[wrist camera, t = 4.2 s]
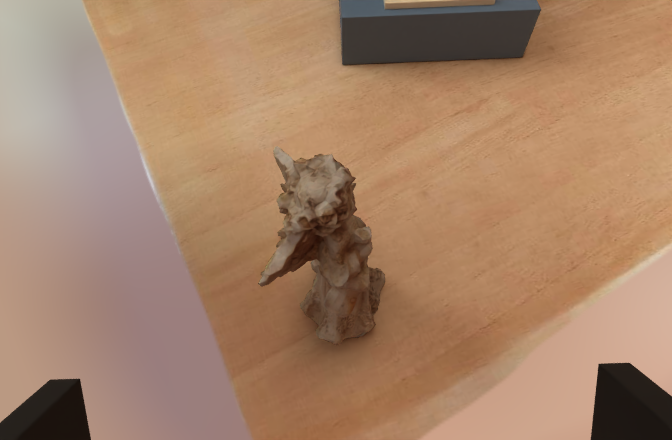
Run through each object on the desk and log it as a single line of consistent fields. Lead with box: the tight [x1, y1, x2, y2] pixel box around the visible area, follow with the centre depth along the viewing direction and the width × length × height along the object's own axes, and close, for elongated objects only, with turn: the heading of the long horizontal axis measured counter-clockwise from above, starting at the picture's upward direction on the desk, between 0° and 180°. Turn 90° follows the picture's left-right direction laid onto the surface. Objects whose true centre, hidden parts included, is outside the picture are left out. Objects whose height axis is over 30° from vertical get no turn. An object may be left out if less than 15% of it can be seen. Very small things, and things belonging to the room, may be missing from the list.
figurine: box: [258, 146, 385, 345], centre depth 22 cm, size 7×6×15 cm
